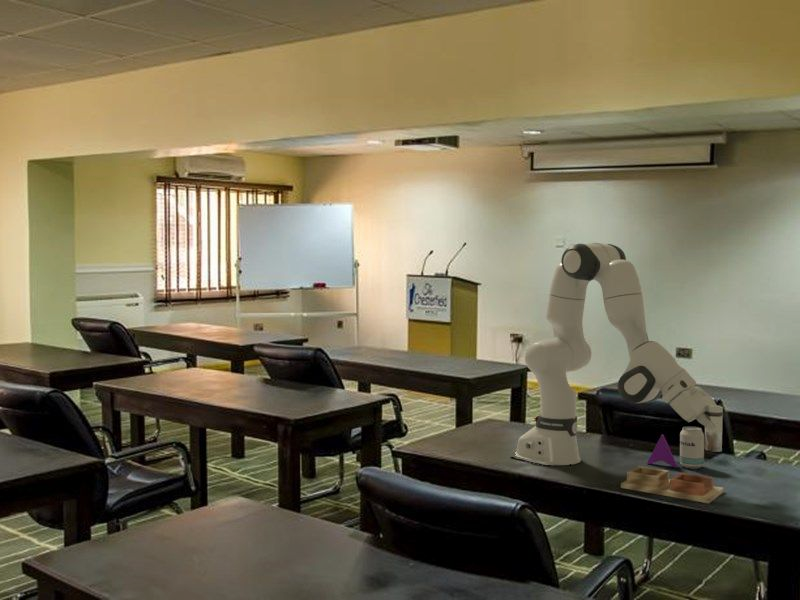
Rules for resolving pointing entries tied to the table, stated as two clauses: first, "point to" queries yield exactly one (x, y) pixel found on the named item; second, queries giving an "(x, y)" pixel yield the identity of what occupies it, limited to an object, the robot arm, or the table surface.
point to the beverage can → (692, 447)
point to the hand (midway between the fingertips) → (715, 427)
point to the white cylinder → (715, 435)
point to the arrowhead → (662, 453)
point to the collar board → (672, 484)
